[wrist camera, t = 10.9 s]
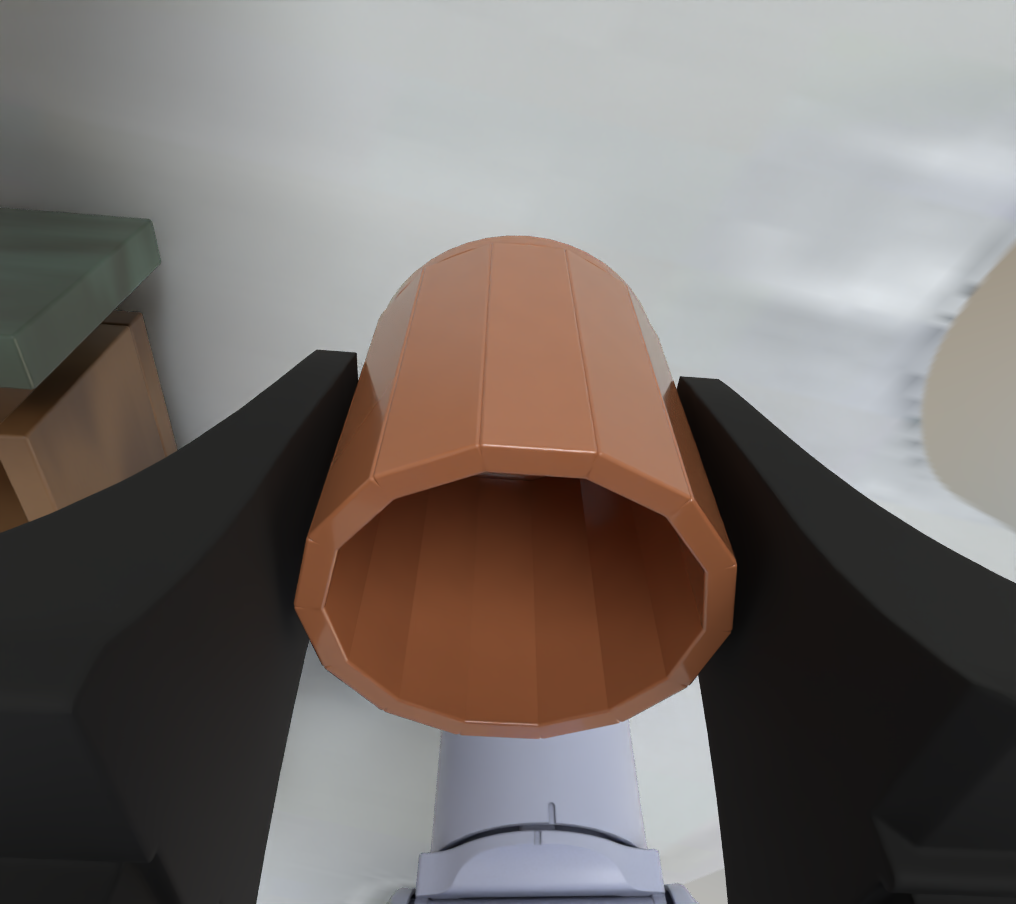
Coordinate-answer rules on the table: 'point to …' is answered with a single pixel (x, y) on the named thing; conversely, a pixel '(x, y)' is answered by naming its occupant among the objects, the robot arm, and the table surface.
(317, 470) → the robot arm
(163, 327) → the table surface
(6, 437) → the drawer
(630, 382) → the orange brown faceted cup
